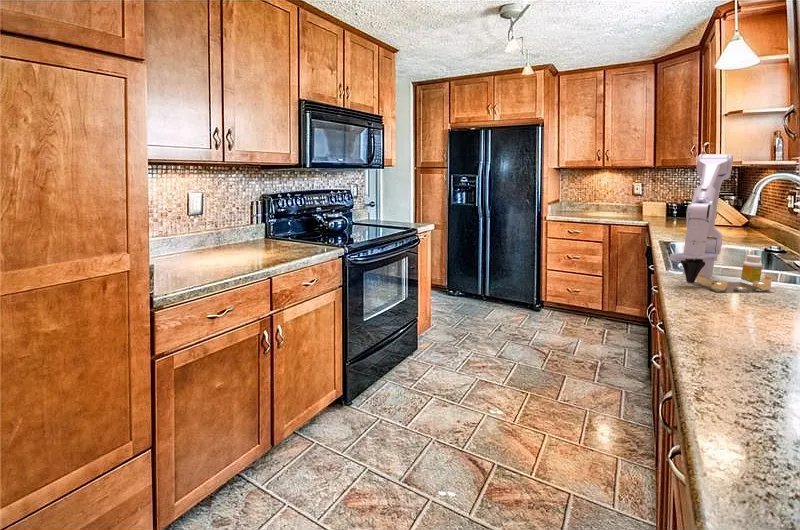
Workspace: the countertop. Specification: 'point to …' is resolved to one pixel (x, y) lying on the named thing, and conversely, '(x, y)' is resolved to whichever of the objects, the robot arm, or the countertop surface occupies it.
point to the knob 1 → (712, 284)
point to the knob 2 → (762, 284)
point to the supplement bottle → (752, 268)
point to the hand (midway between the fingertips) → (690, 282)
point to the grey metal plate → (733, 288)
